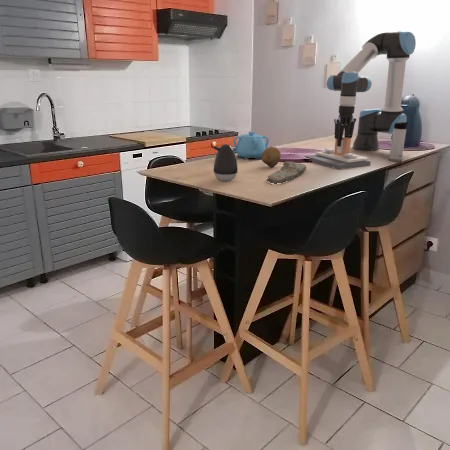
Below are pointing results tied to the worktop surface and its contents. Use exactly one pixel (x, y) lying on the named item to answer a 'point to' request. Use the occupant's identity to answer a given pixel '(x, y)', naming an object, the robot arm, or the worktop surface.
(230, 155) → the pump dispenser
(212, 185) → the worktop surface
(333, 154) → the keyhole plate
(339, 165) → the boss board
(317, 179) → the worktop surface
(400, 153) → the travel mug
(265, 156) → the brown round lump
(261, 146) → the decorative pot
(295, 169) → the long grey stone
